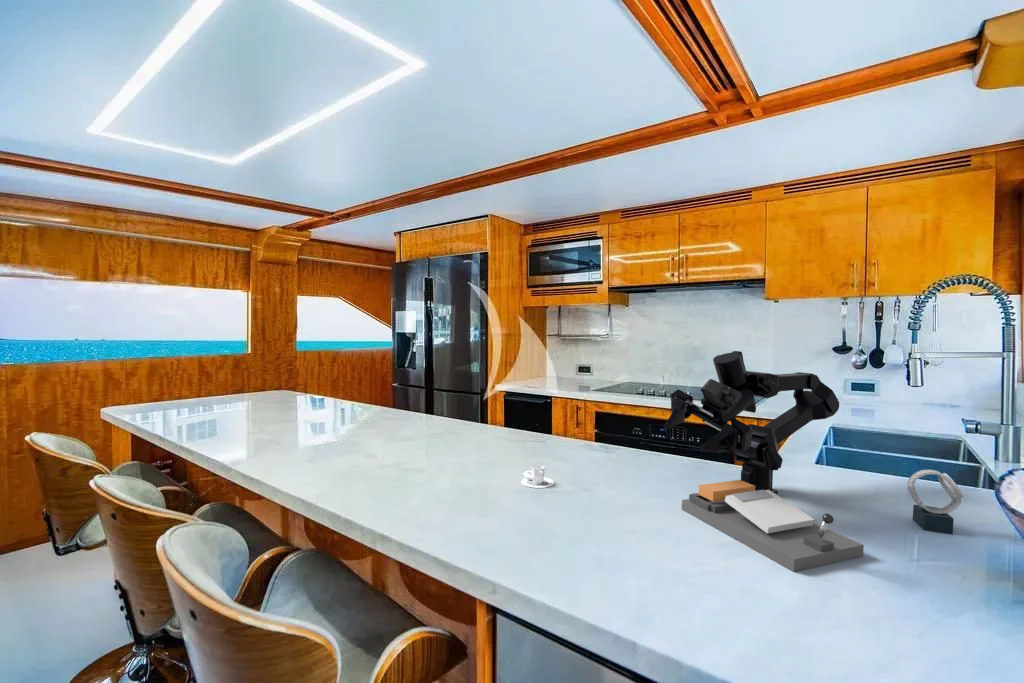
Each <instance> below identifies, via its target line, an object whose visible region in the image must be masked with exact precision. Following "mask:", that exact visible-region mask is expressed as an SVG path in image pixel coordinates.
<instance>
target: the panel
mask: <svg viewBox="0 0 1024 683" xmlns="http://www.w3.org/2000/svg"><path fill="white" fill-rule="evenodd" d="M681 510H682V511H683V512H685V513H687V514H689V515H691V516H693V517H695V518H696V519H698V520H700V521H702V522H703V523H706V524H707V525H709V526H711V527H713V528H715V529H716V530H719V531H720V532H721V533H723V534H725V535H727V536H728V537H730V538H733V540H736V541H738V542H740V543H741V544H743V545H745V546H747V547H748V548H750V549H751V550H754V551H756V552H757V553H759V554H761V555H763V556H765V557H766V558H768V559H770V560H772V561H774V562H775V563H777V564H779V565H780V566H782V567H784V568H786V569H787V570H790V571H792V572H793V573H794V572H795V573H796V572H800V571H803V570H804V571H805V570H808V569H813V568H818V567H822V566H826V565H830V564H835V563H839V562H844V561H849V560H853V559H857V558H862V557H864V545H865V544H864V543H863V544H862V543H861V542H859V541H856V540H853V539H851V538H849V537H847V536H844V535H841V534H839V533H837V532H835V531H832V530H830V529H828V528H827V530H826V532H825V534H824V536H823V537H822V538H819V537H818V536H817V533H818V530H819V528H820V526H821V525H819V524H816V523H815V522H814V523H813V525H812V526H806V527H800V528H795V529H789V530H784V531H778V532H773V533H766V532H765V531H763V530H762V529H761V528H759V527H758V526H757V525H755V524H754V523H753V522H751V521H750V520H749V519H747V518H746V517H745V516H744V515H742V514H741V513H740V512H738V511H737V510H736V509H734V508H733V507H732V506H730V505H729V504H728V503H726V502H725V500H720V501H711V500H709V499H707V498H705V497H703V496H701V495H699V492H695V493H689V494H688V498H686V499H682V500H681Z"/></svg>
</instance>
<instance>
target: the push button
mask: <svg viewBox="0 0 1024 683" xmlns="http://www.w3.org/2000/svg"><path fill="white" fill-rule="evenodd" d="M750 491H755V486H754V485H752V484H749V483H747V482H744V481H742V480H741V479H737V480H736V479H735V480H728V481H721V482H713V483H712V482H711V483H704V484H698V493H699V495H701V496H703V497H705V498H707V499H709V500H711V501H720V500H725V497H726V496H728V495H732V494H736V493H743V492H750Z"/></svg>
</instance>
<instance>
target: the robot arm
mask: <svg viewBox="0 0 1024 683" xmlns="http://www.w3.org/2000/svg"><path fill="white" fill-rule="evenodd" d="M712 361H713V365H714V368H715V372H716V375H717V380H718V381H717V380H715V379H712V378H709V379H708V380H707V381H706V383H704V385H703V386H702V387H701V388H700V392H701V393H702V396H703V398H701V399H700V404H701V405H702V406H700V405H698V404H696V403H694V397H693V396H692V395H690V394H688V393H686V392H684V391H682V390H680V389H679V388H678V389H676V390H675V391H673V392H671V393H670V411H671V413H670V416H669V417H668V419H667V420H666V422H665V424H664V429H665V430H670V429H672V428H675V426H677V425H680V424H682V423H684V422H685V420H686V419H689V418H690V417H691V416H692V415H694V416H695V417H697V418H698V419H700V420H701V422H703V423H704V424H707V425H708V426H710V427H712V428H714V429H716V430H717V431H719V432H718V433H716V434H715V435H713V436H712V437H711V438H709V439H708V440H707V441H705V442H704V443H703V444H702V445H700V449H699V450H700V452H711V451H727V450H728V451H729V450H730V451H732V452H733V454H734V459H735V461H736V462H740V463H741V470H740V480H742V481H744V482H747V483H749V484H752V485H754V486H755V491H758V490H770V491H771V492H773V493H775V494H778V493H779V490H777V489H774V488H773V480H774V478H773V477H774V471H779V469H781V468H782V464H783V457H782V456H781V455H780V453H779V452H778V445H779V444H780V443H781V442H783V441H785V440H786V439H787V438H788V437H790V436H792V435H793V434H795V433H796V432H797V431H799V430H801V429H802V428H803V427H805V426H806V425H807V424H809V423H810V422H812V421H818V420H825V419H828V418H831V417H833V416H835V414H837V412H838V411H839V409H840V401H839V399H838V397H837V395H836V394H835V392H834V390H833V389H832V388H830V387H829V386H827V385H826V384H824V382H822V381H821V380H820V377H819V376H818V375H817V374H815V373H809V372H800V371H798V372H797V371H796V372H794V373H777V374H775V373H768V372H761V371H760V372H758V371H749V370H747V369H746V365H745V362H744V356H743V351H739V350H733V351H731V352H725V353H723V354H718V355H716V356H714V357H713V359H712ZM788 391H794V392H793V395H792V396H793V399H794V400H795V405H794V406H792V407H791V408H789V409H788V410H786V411H784V412H783V413H781V414H780V415H779V416H776V417H775V418H774V419H772V420H771V421H770V422H768V423H765V425H763V426H762V425H757V424H753V423H749V424H746V423H744V422H743V421H740V420H739V419H737V416H738V415H740V413H742V412H749V413H753V414H755V413H756V411H757V407H756V404H757V402H756V399H755V397H756V398H764V399H770V398H773V397H775V396H778V394H779V393H780V392H788ZM728 422H730V423H728Z"/></svg>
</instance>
